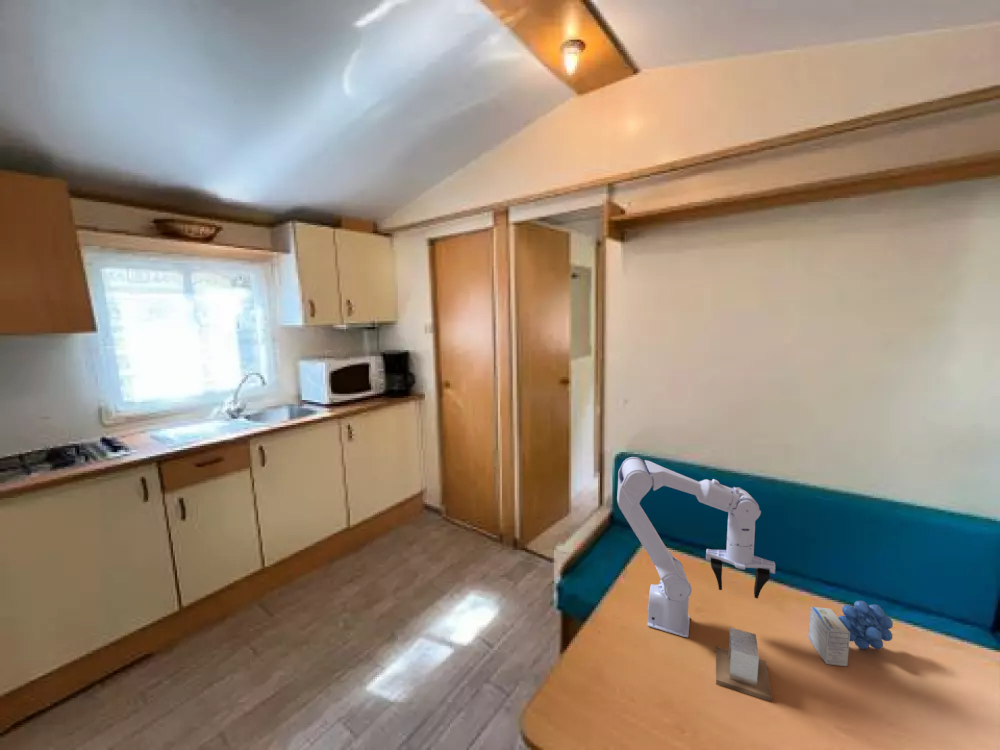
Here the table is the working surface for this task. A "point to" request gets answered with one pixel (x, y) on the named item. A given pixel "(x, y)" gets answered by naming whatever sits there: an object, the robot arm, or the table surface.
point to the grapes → (866, 624)
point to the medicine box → (829, 636)
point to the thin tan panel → (723, 680)
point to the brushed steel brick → (743, 657)
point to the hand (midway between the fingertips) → (737, 591)
